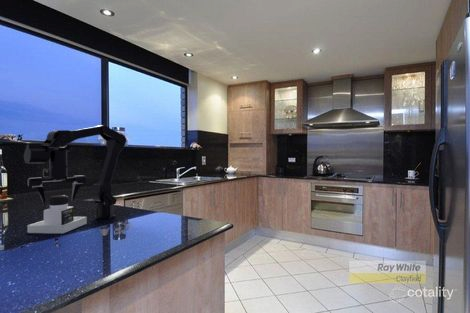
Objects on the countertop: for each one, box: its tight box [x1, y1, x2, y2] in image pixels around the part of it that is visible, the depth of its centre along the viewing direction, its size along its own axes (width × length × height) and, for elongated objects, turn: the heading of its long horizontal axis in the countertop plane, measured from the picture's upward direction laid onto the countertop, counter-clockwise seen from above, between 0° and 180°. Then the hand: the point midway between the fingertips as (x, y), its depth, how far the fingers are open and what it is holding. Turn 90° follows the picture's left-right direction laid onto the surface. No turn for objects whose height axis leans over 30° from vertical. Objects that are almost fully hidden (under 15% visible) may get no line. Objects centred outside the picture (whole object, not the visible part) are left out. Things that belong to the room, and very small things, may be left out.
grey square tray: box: [27, 216, 88, 234], centre depth 101 cm, size 14×14×3 cm
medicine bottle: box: [43, 194, 75, 225], centre depth 101 cm, size 7×7×12 cm
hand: (58, 202), depth 101 cm, fingers open, 9 cm apart
